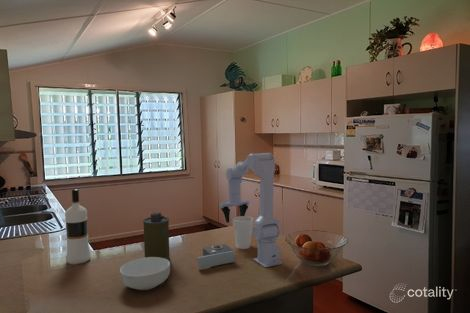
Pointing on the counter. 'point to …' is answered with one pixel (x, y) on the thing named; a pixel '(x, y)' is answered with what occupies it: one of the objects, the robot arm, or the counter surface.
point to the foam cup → (243, 231)
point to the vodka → (77, 232)
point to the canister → (156, 236)
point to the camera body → (216, 249)
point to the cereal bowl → (145, 272)
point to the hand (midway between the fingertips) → (234, 221)
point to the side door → (215, 259)
